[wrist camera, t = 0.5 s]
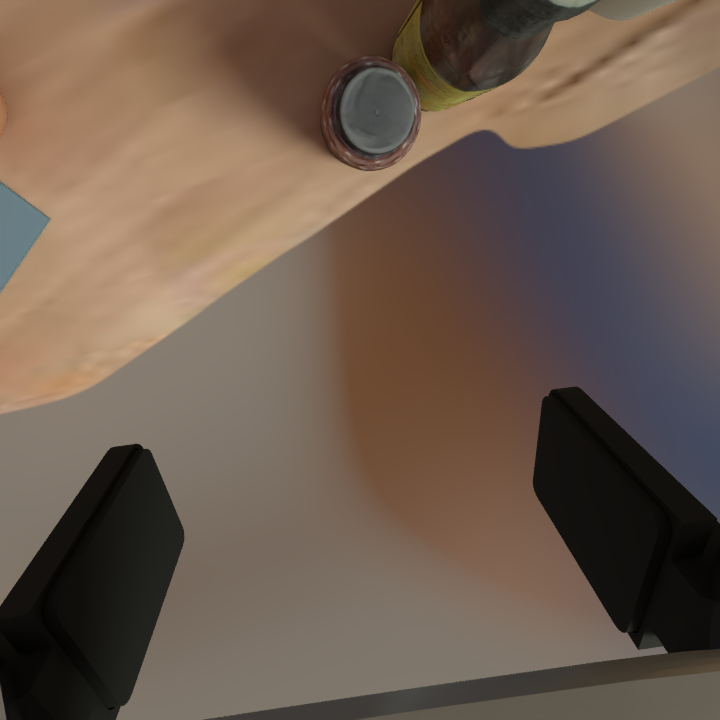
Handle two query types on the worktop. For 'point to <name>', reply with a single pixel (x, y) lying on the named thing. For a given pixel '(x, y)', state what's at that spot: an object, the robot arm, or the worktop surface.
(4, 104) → the object ball
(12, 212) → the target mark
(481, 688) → the robot arm
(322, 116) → the supplement bottle
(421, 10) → the sauce bottle
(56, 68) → the worktop surface
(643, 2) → the white hollowed block
